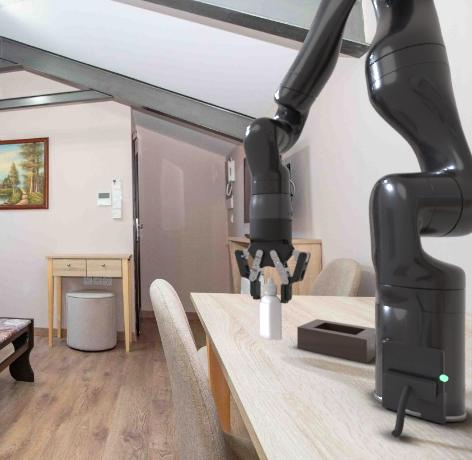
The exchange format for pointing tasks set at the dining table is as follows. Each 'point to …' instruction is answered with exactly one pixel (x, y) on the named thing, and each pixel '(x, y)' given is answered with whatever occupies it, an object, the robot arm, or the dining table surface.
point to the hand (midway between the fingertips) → (270, 300)
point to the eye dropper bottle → (270, 312)
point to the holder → (337, 340)
